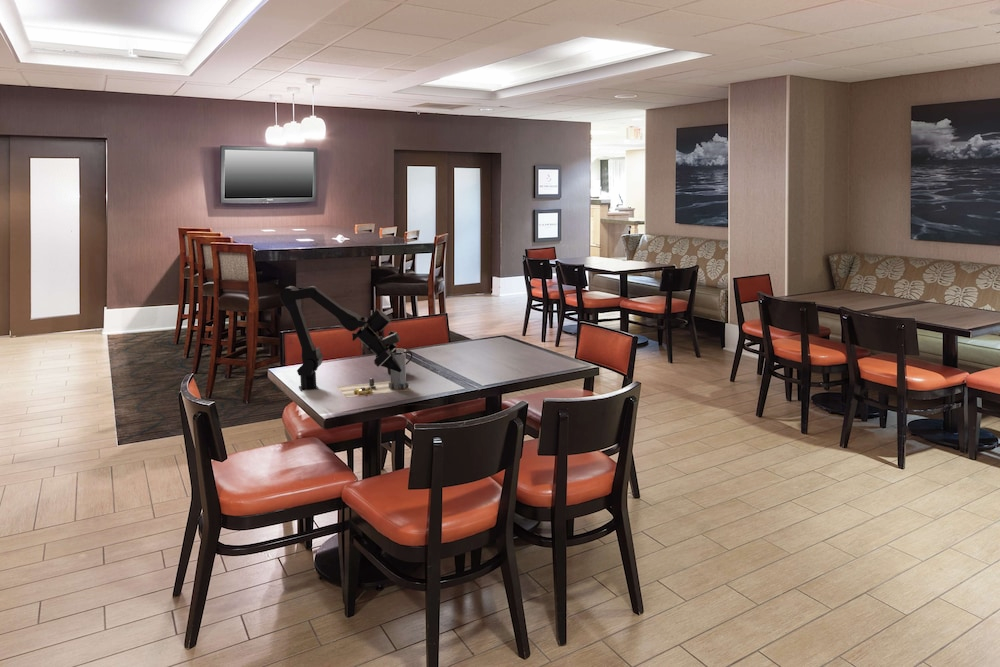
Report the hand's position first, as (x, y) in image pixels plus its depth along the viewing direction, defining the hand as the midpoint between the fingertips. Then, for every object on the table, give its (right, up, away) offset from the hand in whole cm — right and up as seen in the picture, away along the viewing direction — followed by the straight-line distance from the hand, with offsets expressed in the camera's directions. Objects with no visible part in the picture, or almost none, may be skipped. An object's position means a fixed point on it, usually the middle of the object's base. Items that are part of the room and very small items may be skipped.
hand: (401, 369), depth 281 cm
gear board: (-10, -8, +1) cm, 13 cm away
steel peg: (-12, -7, +2) cm, 14 cm away
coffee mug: (-4, -3, +25) cm, 25 cm away
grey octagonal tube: (-1, -7, +1) cm, 7 cm away
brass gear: (-14, -8, -5) cm, 17 cm away
